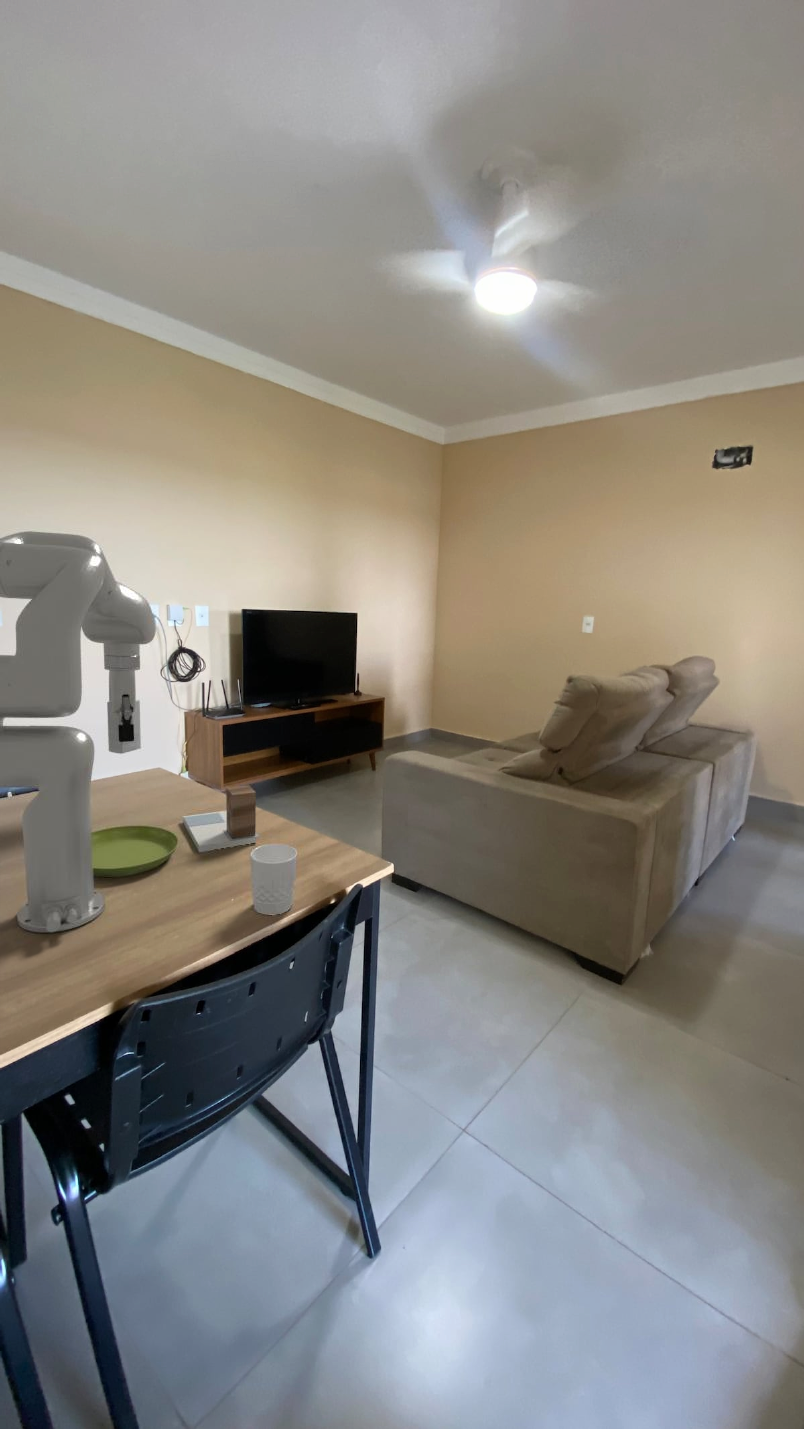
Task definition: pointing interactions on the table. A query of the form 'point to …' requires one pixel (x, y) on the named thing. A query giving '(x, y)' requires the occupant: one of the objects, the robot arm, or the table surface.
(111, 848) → the green plate
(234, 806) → the block
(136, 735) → the skincare box
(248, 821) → the block
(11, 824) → the table surface
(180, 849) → the table surface
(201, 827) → the build board
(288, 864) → the white cup
